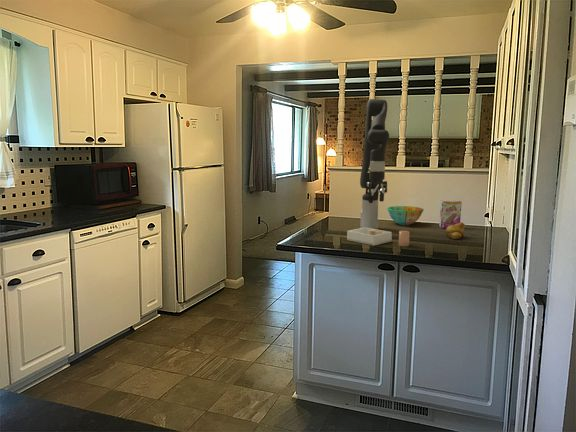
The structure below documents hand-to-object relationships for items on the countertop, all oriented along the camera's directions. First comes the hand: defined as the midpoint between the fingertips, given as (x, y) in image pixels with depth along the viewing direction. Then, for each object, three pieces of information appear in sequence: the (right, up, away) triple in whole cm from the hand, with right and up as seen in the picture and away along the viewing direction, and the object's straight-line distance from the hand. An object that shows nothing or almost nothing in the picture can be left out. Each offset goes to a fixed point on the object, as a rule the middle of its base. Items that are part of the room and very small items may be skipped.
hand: (376, 202), depth 233 cm
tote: (-3, -20, +6) cm, 21 cm away
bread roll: (+45, -19, +14) cm, 51 cm away
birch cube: (0, -20, +3) cm, 20 cm away
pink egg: (+13, -22, -4) cm, 26 cm away
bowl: (+28, -12, +54) cm, 63 cm away
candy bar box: (+52, -14, +42) cm, 69 cm away
